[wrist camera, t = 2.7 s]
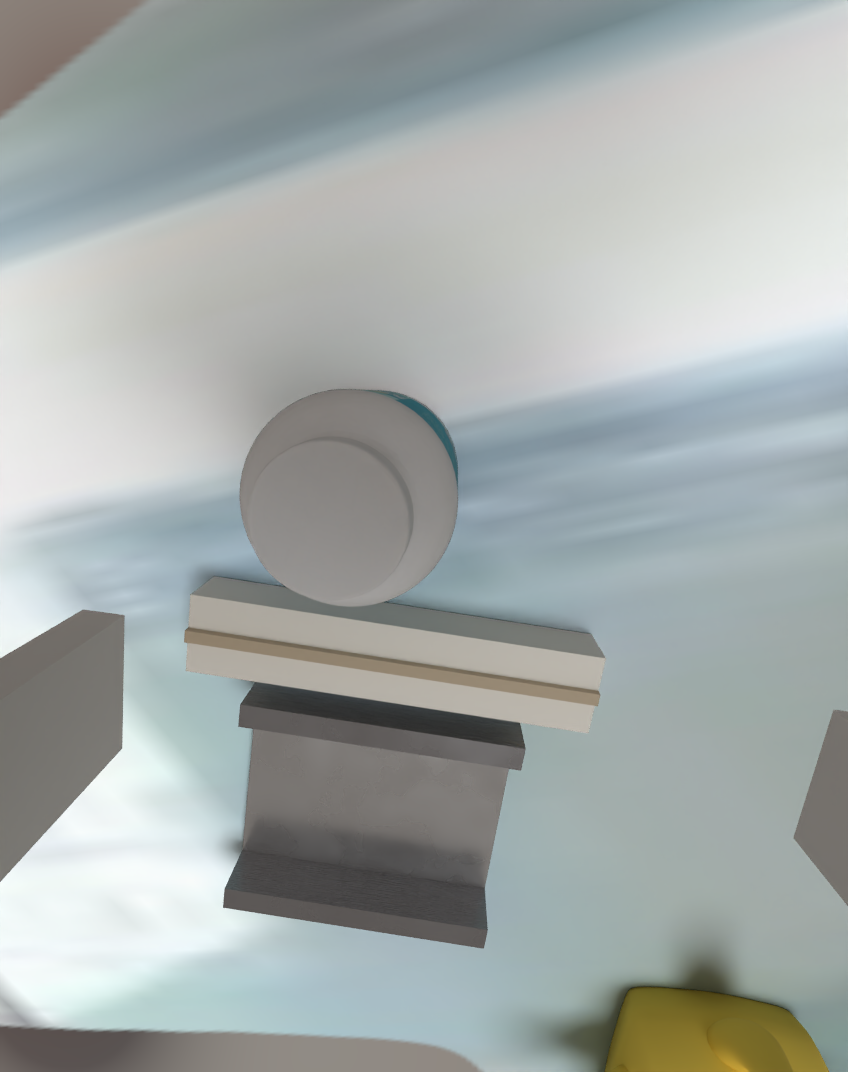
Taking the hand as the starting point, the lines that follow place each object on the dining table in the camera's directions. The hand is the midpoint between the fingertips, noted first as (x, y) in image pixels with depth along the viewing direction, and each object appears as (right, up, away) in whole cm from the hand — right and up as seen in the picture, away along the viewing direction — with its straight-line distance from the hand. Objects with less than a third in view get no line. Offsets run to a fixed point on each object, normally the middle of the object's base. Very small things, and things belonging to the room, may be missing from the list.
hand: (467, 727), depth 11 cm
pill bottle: (-3, +7, +19) cm, 20 cm away
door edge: (-2, -2, +21) cm, 21 cm away
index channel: (-3, -11, +23) cm, 26 cm away
